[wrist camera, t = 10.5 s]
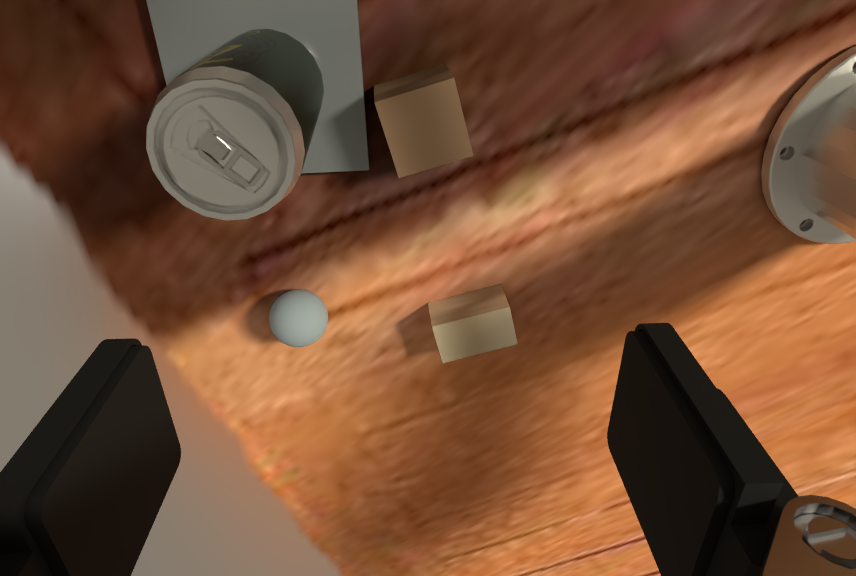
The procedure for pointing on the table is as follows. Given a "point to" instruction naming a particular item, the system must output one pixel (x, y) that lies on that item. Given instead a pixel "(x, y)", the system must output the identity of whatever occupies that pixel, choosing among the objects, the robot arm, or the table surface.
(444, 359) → the beech block
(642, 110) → the table surface
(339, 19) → the coaster
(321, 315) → the grey ball
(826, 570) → the robot arm
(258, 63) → the beer can
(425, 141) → the tan cube
